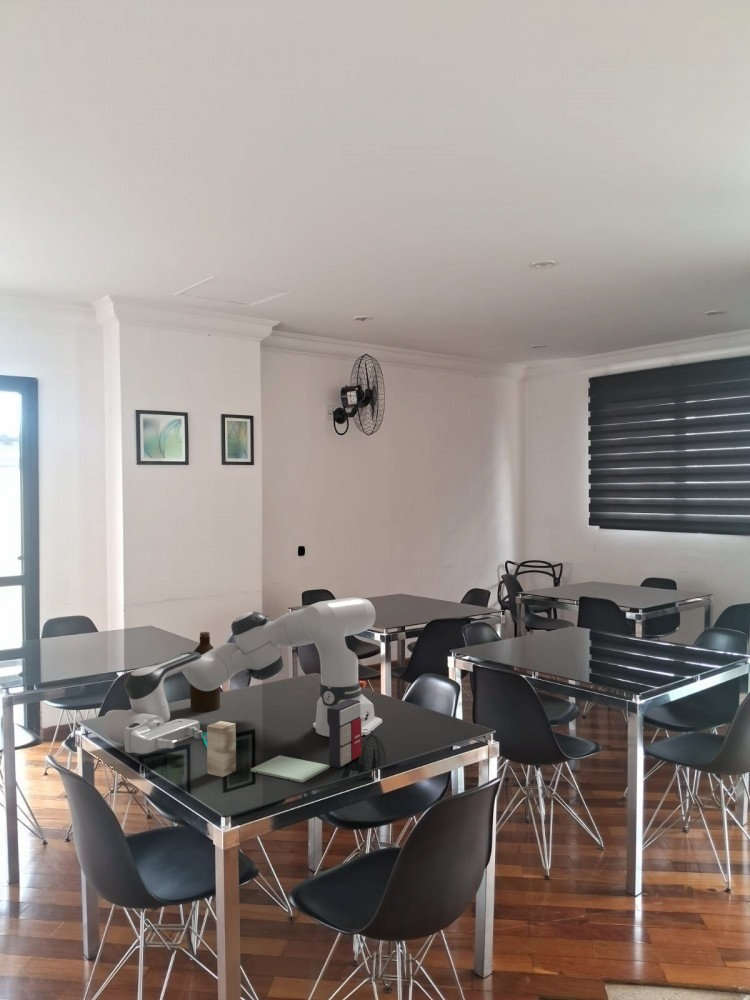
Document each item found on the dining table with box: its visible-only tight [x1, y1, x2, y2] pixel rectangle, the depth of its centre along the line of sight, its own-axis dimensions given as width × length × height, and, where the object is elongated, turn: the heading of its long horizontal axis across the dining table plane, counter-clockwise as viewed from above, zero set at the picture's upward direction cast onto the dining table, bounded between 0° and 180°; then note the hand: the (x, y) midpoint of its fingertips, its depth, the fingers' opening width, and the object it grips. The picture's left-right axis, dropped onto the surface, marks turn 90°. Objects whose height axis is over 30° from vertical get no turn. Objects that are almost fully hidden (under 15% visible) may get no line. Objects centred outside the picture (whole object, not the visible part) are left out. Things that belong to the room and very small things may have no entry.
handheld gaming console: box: [201, 731, 238, 749], centre depth 224 cm, size 8×1×15 cm
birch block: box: [206, 720, 237, 778], centre depth 197 cm, size 5×5×12 cm
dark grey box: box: [327, 699, 362, 769], centre depth 204 cm, size 11×4×15 cm, turn 151°
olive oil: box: [189, 631, 221, 713], centre depth 258 cm, size 11×11×25 cm
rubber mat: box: [250, 754, 331, 783], centre depth 199 cm, size 12×16×1 cm
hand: (187, 739), depth 203 cm, fingers open, 8 cm apart
